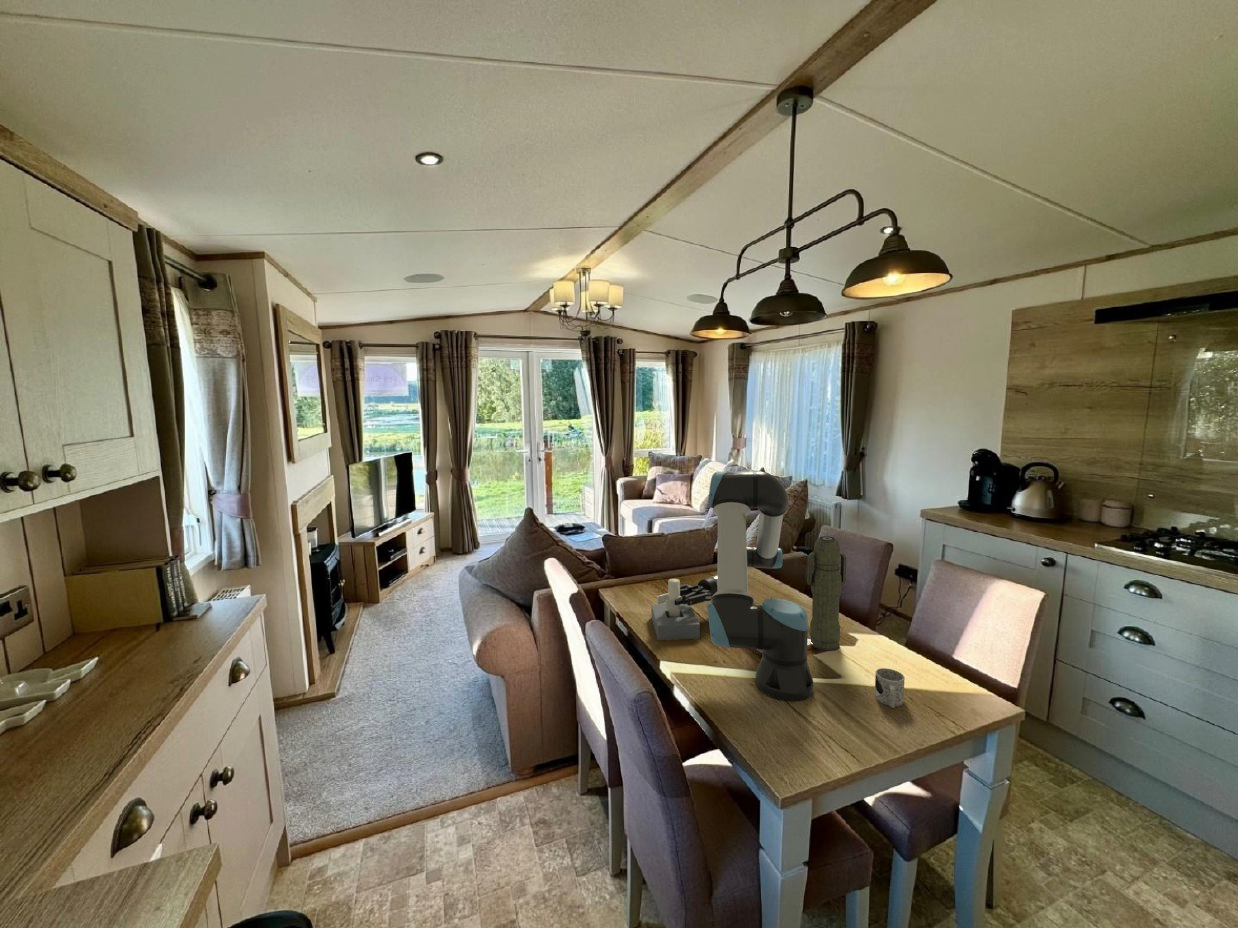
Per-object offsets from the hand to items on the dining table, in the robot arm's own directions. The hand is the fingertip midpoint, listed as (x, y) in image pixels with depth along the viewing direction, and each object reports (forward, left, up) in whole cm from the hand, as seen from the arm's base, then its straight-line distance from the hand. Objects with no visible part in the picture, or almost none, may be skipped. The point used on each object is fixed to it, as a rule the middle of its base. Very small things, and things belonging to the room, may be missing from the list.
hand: (661, 602), depth 171 cm
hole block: (+3, -5, -11) cm, 12 cm away
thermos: (-14, -51, -11) cm, 54 cm away
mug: (-46, -53, -11) cm, 71 cm away
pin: (+3, -5, -8) cm, 10 cm away
